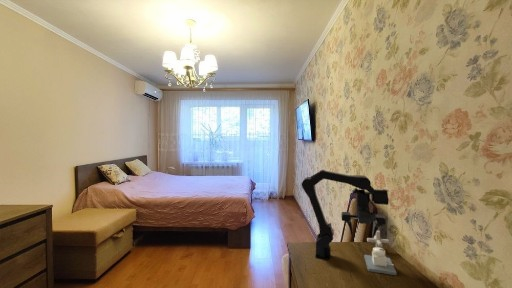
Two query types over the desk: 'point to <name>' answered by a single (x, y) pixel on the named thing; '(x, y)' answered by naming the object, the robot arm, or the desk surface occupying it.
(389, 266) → the panel
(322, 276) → the desk surface
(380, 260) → the knob
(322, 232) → the robot arm
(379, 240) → the pipe connector
